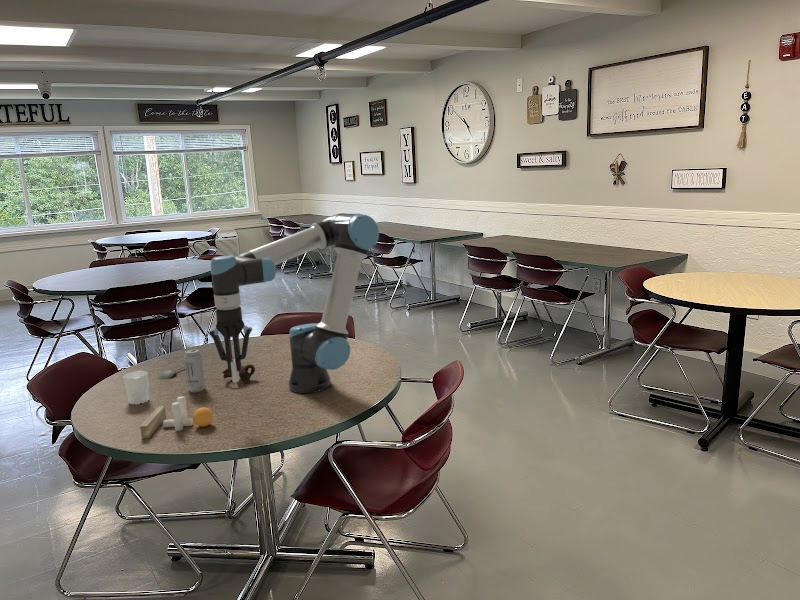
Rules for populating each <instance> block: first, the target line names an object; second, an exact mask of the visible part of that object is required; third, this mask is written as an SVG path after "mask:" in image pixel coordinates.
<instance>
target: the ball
mask: <svg viewBox="0 0 800 600" xmlns="http://www.w3.org/2000/svg"><path fill="white" fill-rule="evenodd" d="M192 416H193V417H192V420H193V422H194V423H193V424H195V425H196V426H197V427H201V428H202V427H203V428H204V427H208V426H209V425H210V424H212V421H213V420H214V414H213V411H212V410H211V409H210V408H207V407H198V408H197V409H196V410H195V411H194V412H193V415H192Z"/></svg>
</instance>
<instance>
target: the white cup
mask: <svg viewBox="0 0 800 600" xmlns="http://www.w3.org/2000/svg"><path fill="white" fill-rule="evenodd" d="M123 382H124V386H125V391H126V396H127V398H128V399H127V401H128V403H129V404H130V405H134V404H135V405H140V403H142V404H145V403H147V402H149V401H150V385H149V384H150V383H149V374H148V371H145V370H136V371H130V372H128V373H126V374H124V375H123ZM148 400H149V401H148ZM144 402H145V403H144Z"/></svg>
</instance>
